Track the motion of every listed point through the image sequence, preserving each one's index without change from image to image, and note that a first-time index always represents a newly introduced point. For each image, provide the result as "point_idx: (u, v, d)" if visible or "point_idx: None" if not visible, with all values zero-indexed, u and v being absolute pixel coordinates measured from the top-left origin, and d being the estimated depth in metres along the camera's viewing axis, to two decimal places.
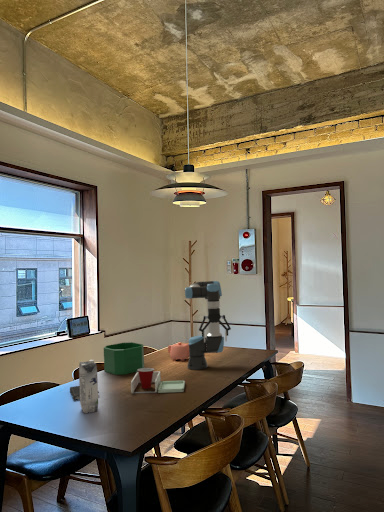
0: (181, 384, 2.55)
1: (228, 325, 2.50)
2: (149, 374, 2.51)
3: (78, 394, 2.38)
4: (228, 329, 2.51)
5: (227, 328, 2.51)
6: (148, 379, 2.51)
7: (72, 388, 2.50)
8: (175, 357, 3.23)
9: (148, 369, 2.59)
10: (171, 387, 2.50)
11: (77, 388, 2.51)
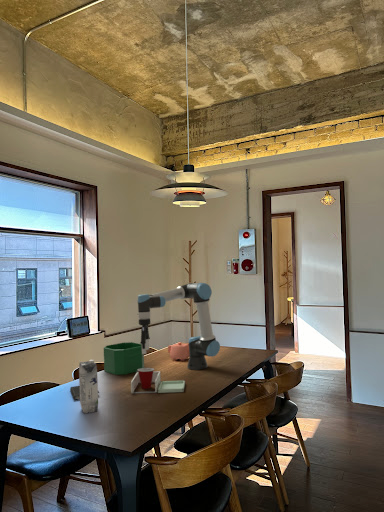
0: (181, 384, 2.55)
1: (141, 338, 2.46)
2: (149, 374, 2.51)
3: (78, 394, 2.38)
4: None
5: None
6: (148, 379, 2.51)
7: (73, 388, 2.50)
8: (175, 357, 3.23)
9: (148, 369, 2.59)
10: (171, 387, 2.50)
11: (77, 388, 2.51)
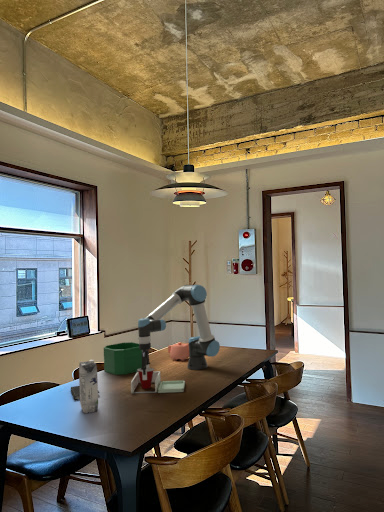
0: (181, 384, 2.55)
1: None
2: (149, 374, 2.51)
3: (78, 394, 2.39)
4: (142, 369, 2.47)
5: None
6: (148, 379, 2.51)
7: (73, 388, 2.50)
8: (175, 357, 3.23)
9: (148, 369, 2.59)
10: (171, 387, 2.50)
11: (77, 388, 2.51)
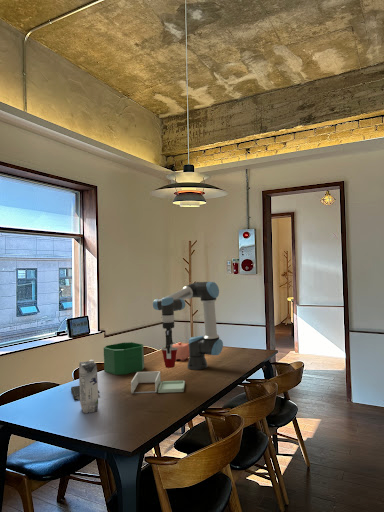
0: (181, 384, 2.55)
1: None
2: (173, 353, 2.48)
3: (79, 393, 2.39)
4: None
5: None
6: (172, 358, 2.48)
7: (73, 388, 2.50)
8: None
9: (171, 348, 2.56)
10: (171, 387, 2.50)
11: (78, 388, 2.51)
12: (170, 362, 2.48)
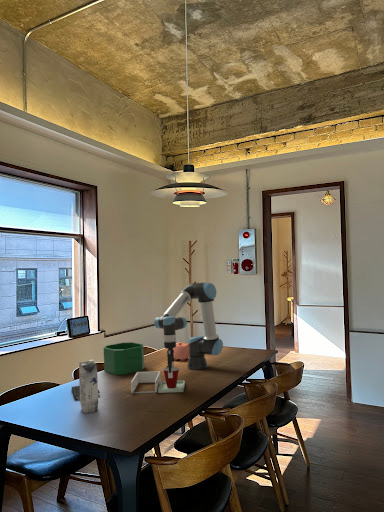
0: (181, 384, 2.55)
1: None
2: (175, 373, 2.47)
3: (79, 393, 2.39)
4: None
5: None
6: (174, 378, 2.47)
7: (74, 388, 2.50)
8: (175, 357, 3.23)
9: (173, 368, 2.55)
10: None
11: (78, 388, 2.51)
12: (172, 382, 2.47)
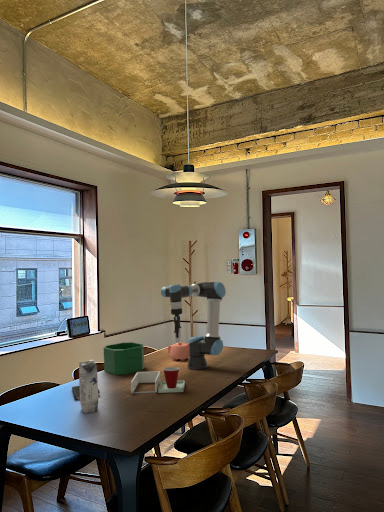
0: (181, 384, 2.55)
1: None
2: (175, 373, 2.47)
3: (79, 393, 2.39)
4: None
5: None
6: (174, 378, 2.47)
7: (74, 388, 2.51)
8: (175, 357, 3.23)
9: (173, 368, 2.55)
10: None
11: (79, 387, 2.51)
12: (172, 382, 2.47)
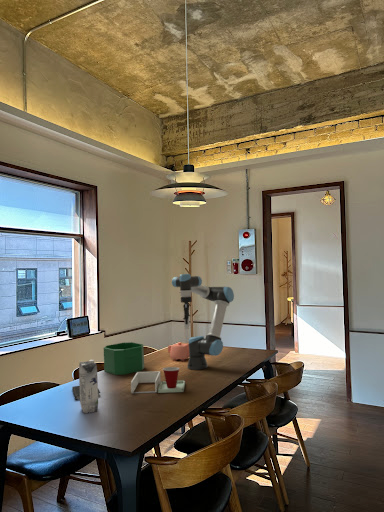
0: (181, 384, 2.55)
1: (184, 314, 2.63)
2: (175, 373, 2.47)
3: (79, 393, 2.39)
4: None
5: None
6: (174, 378, 2.47)
7: (75, 388, 2.51)
8: (175, 357, 3.23)
9: (173, 368, 2.55)
10: None
11: (79, 387, 2.51)
12: (172, 382, 2.47)
